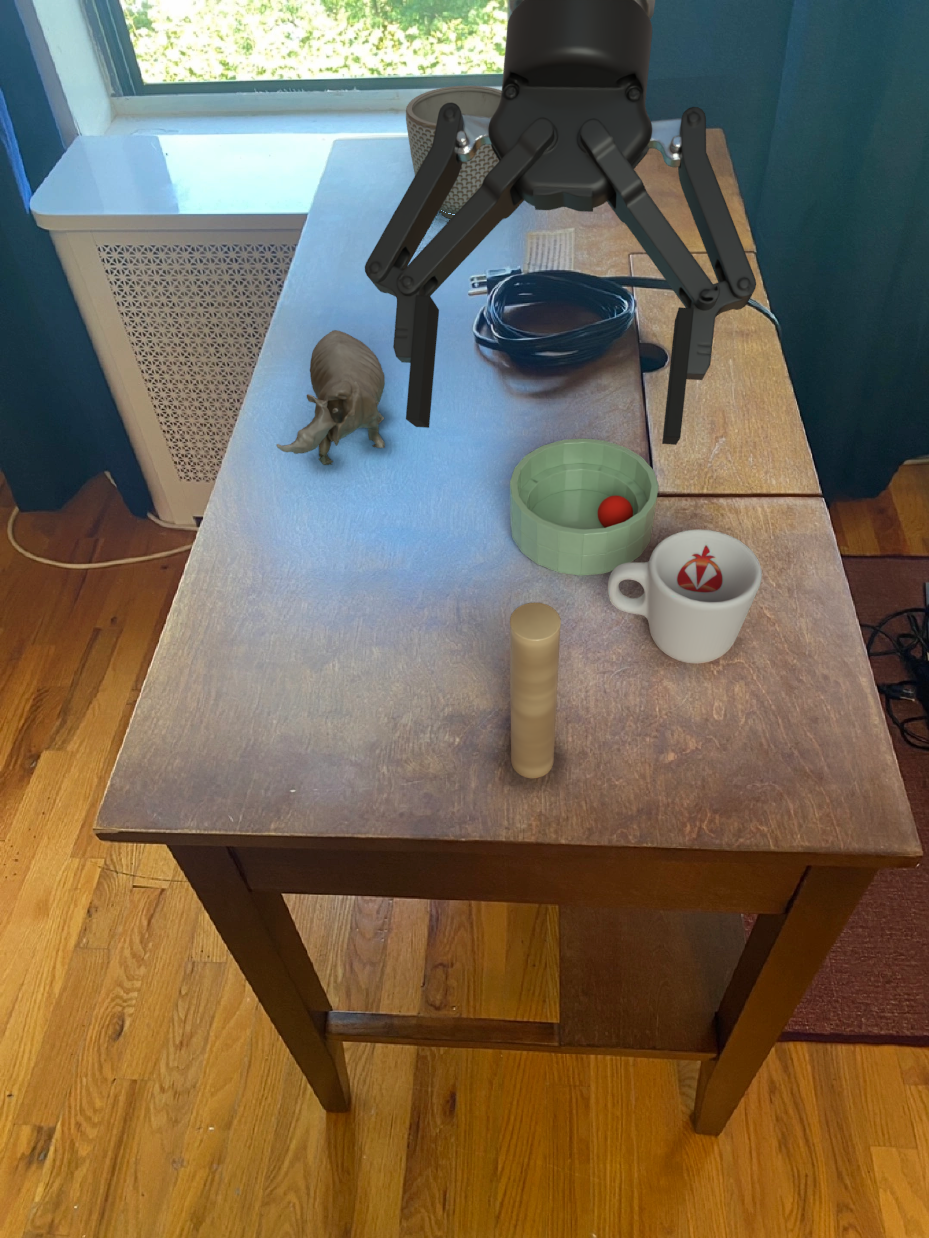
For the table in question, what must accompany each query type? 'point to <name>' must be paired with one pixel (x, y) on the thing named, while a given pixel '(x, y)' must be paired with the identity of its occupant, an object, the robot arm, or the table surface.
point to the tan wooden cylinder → (533, 687)
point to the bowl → (581, 505)
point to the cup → (692, 592)
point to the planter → (422, 132)
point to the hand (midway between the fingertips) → (541, 433)
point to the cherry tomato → (614, 511)
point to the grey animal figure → (341, 395)
